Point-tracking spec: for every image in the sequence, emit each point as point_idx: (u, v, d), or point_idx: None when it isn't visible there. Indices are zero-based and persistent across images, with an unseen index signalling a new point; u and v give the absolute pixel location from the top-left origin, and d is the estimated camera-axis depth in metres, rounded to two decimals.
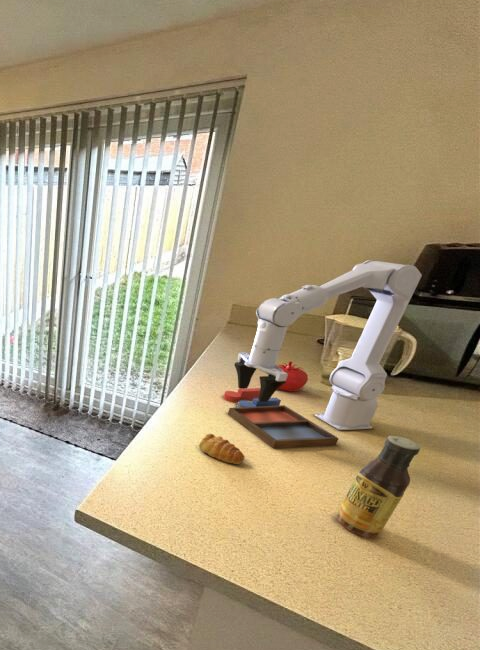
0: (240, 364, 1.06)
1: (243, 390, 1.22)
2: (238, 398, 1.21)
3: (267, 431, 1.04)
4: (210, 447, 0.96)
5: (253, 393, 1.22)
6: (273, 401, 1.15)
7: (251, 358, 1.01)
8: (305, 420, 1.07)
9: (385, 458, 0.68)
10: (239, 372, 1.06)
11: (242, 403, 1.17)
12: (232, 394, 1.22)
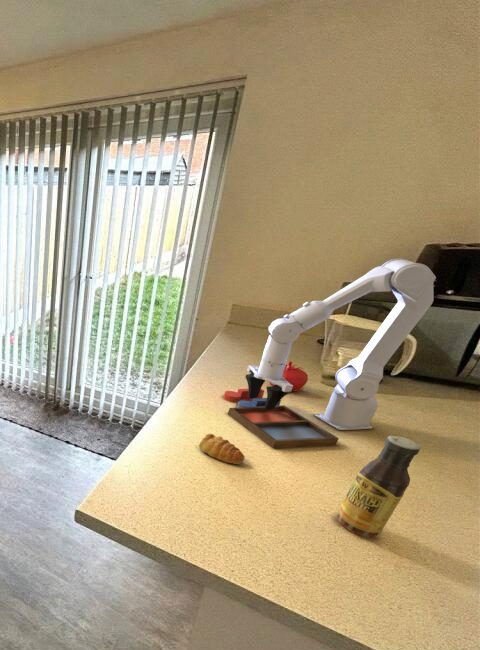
0: (251, 376, 1.18)
1: (243, 390, 1.22)
2: (238, 398, 1.21)
3: (267, 431, 1.04)
4: (210, 447, 0.96)
5: None
6: None
7: (260, 370, 1.13)
8: (305, 420, 1.07)
9: (385, 458, 0.68)
10: (250, 383, 1.18)
11: (242, 403, 1.17)
12: (232, 394, 1.22)
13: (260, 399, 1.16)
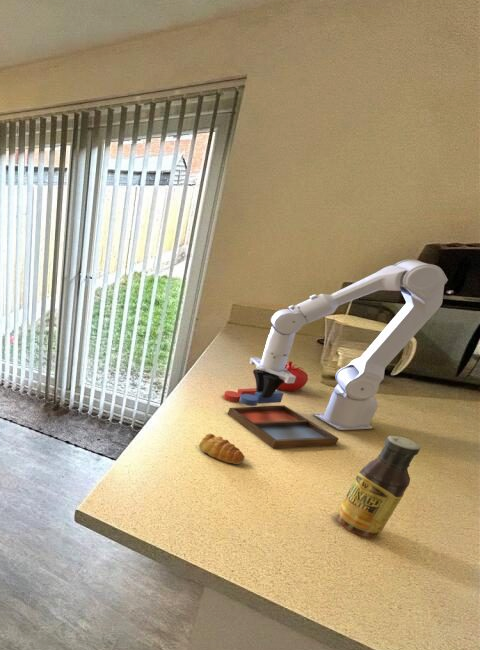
0: (258, 371, 1.14)
1: (243, 390, 1.22)
2: (238, 398, 1.21)
3: (267, 431, 1.04)
4: (210, 447, 0.96)
5: (253, 393, 1.22)
6: (275, 394, 1.14)
7: (262, 362, 1.12)
8: (305, 420, 1.07)
9: (385, 458, 0.68)
10: (257, 378, 1.15)
11: (244, 397, 1.16)
12: (232, 394, 1.22)
13: (262, 392, 1.15)
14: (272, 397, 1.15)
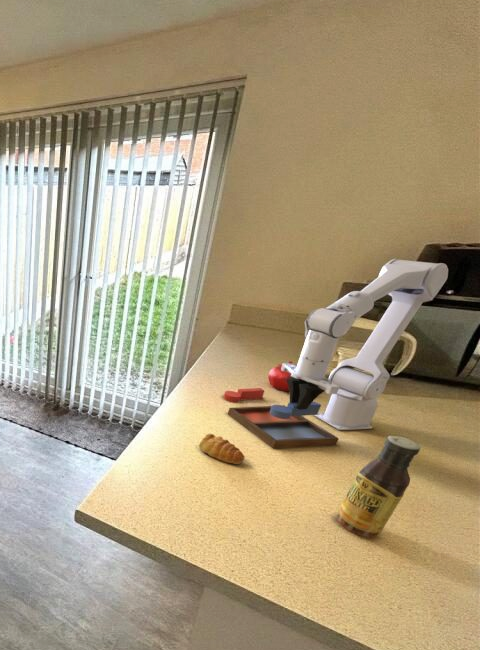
0: (293, 379, 1.00)
1: (243, 390, 1.22)
2: (238, 398, 1.21)
3: (267, 431, 1.04)
4: (210, 447, 0.96)
5: (253, 393, 1.22)
6: (311, 405, 1.00)
7: (298, 369, 0.97)
8: (305, 420, 1.07)
9: (385, 458, 0.68)
10: (292, 388, 1.01)
11: (276, 408, 1.01)
12: (232, 394, 1.22)
13: (297, 403, 1.01)
14: (308, 409, 1.01)
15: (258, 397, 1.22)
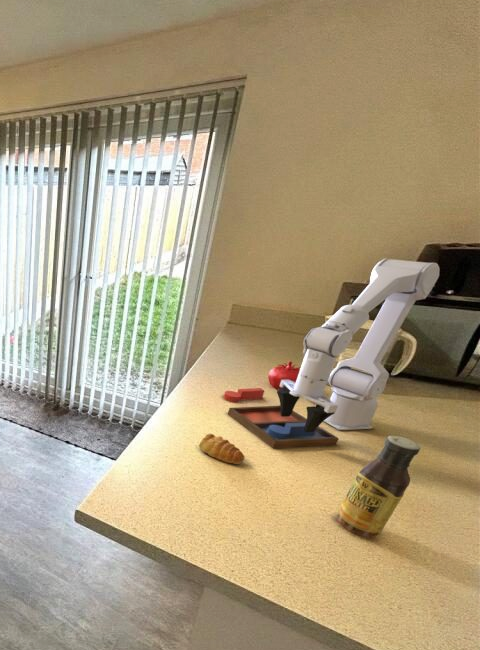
0: (283, 392, 1.03)
1: (243, 390, 1.22)
2: (238, 398, 1.21)
3: None
4: (210, 447, 0.96)
5: (253, 393, 1.22)
6: None
7: (297, 387, 0.98)
8: (305, 420, 1.07)
9: (385, 458, 0.68)
10: (282, 400, 1.03)
11: (273, 428, 1.02)
12: (232, 394, 1.22)
13: (294, 424, 1.02)
14: None
15: (258, 397, 1.22)
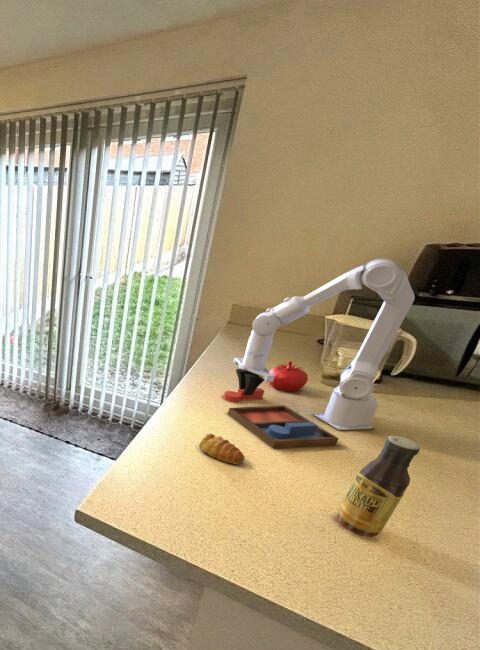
0: (241, 370, 1.21)
1: (243, 390, 1.22)
2: (238, 398, 1.21)
3: None
4: (210, 447, 0.96)
5: (253, 393, 1.22)
6: (308, 426, 1.01)
7: (244, 362, 1.19)
8: (305, 420, 1.07)
9: (385, 458, 0.68)
10: (240, 377, 1.22)
11: (273, 428, 1.02)
12: (232, 394, 1.22)
13: (294, 424, 1.02)
14: (305, 429, 1.01)
15: (258, 397, 1.22)
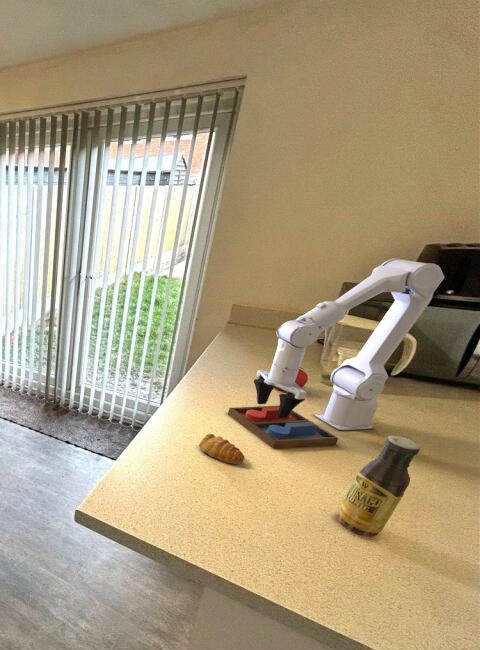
0: (259, 381, 1.11)
1: (268, 409, 1.09)
2: (263, 418, 1.08)
3: None
4: (210, 447, 0.96)
5: None
6: (308, 426, 1.01)
7: (271, 376, 1.06)
8: (305, 420, 1.07)
9: (385, 458, 0.68)
10: (258, 389, 1.11)
11: (273, 428, 1.02)
12: (256, 414, 1.09)
13: (294, 424, 1.02)
14: (305, 429, 1.01)
15: None
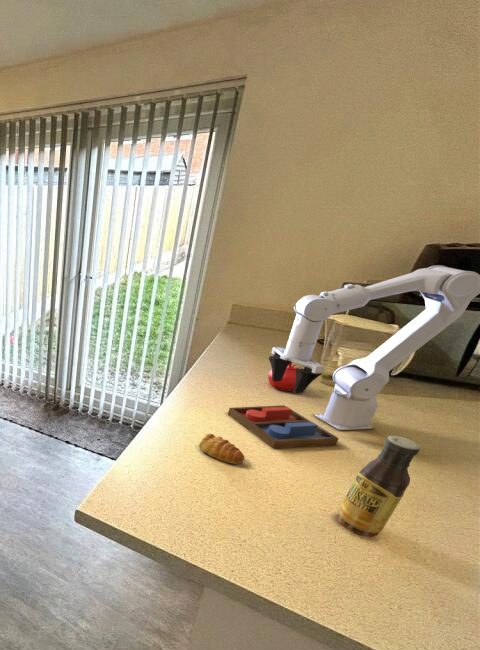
0: (275, 358, 1.11)
1: (268, 409, 1.09)
2: (263, 418, 1.08)
3: None
4: (210, 447, 0.96)
5: (279, 413, 1.09)
6: (308, 426, 1.01)
7: (287, 351, 1.06)
8: (305, 420, 1.07)
9: (385, 458, 0.68)
10: (273, 365, 1.11)
11: (273, 428, 1.02)
12: (256, 414, 1.09)
13: (294, 424, 1.02)
14: (305, 429, 1.01)
15: (284, 417, 1.10)
